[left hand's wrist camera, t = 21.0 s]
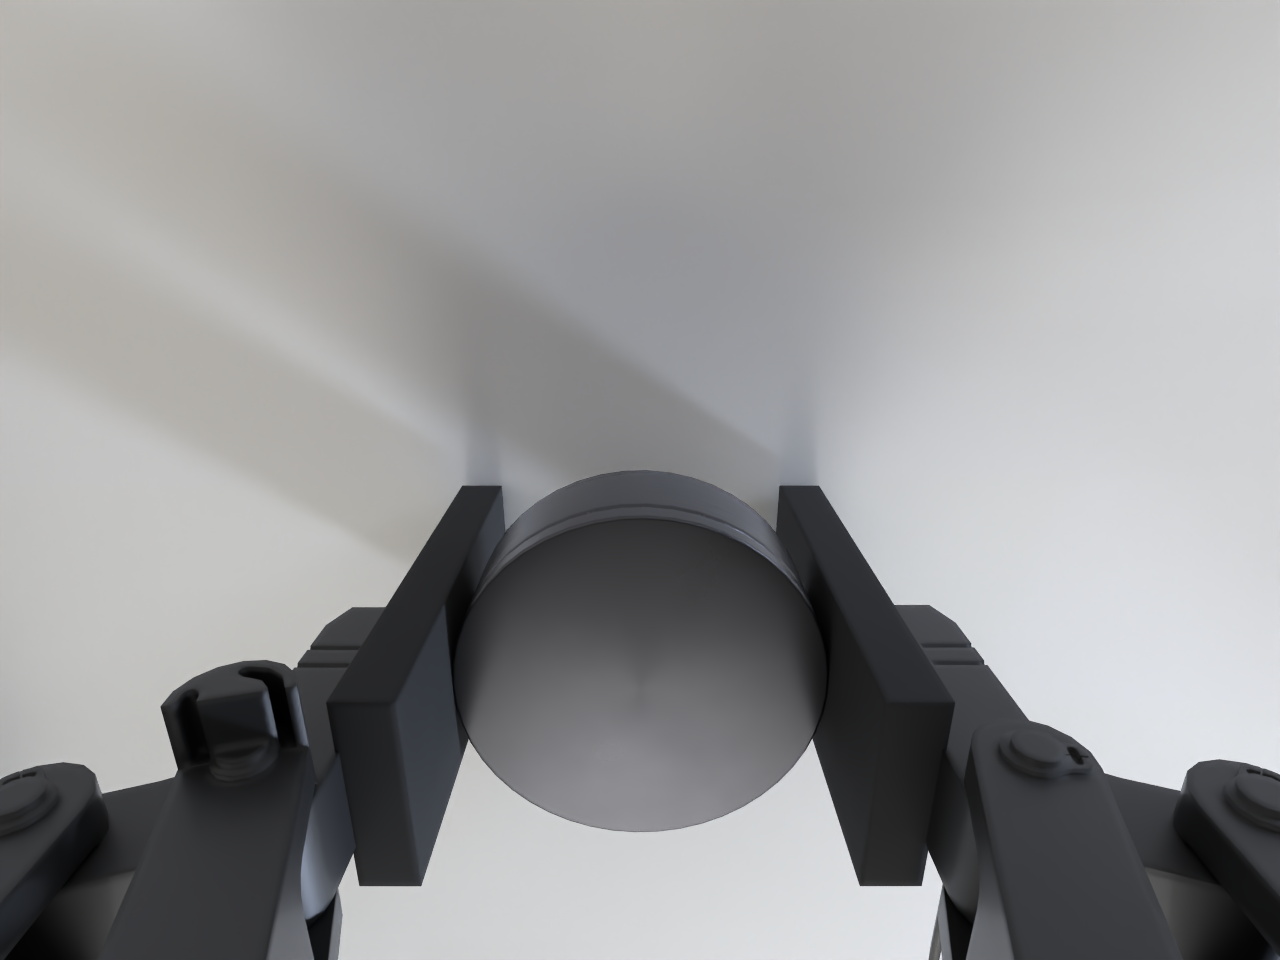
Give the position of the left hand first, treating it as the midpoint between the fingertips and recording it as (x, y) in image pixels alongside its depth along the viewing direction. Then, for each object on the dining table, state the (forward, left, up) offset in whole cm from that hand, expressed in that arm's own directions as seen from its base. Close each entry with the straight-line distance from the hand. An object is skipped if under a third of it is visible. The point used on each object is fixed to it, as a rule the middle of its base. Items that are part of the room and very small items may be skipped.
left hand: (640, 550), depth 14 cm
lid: (0, 0, +4) cm, 4 cm away
